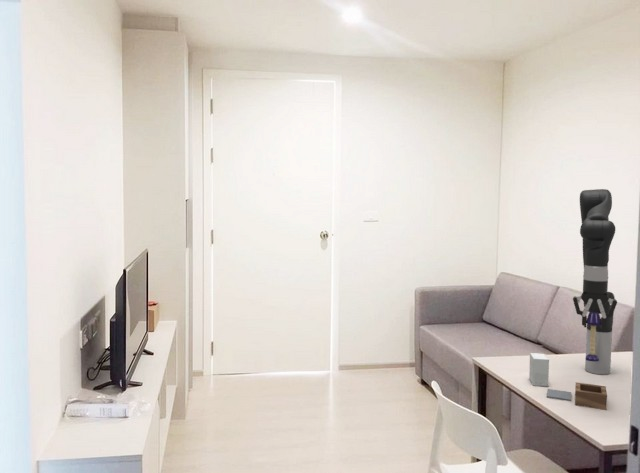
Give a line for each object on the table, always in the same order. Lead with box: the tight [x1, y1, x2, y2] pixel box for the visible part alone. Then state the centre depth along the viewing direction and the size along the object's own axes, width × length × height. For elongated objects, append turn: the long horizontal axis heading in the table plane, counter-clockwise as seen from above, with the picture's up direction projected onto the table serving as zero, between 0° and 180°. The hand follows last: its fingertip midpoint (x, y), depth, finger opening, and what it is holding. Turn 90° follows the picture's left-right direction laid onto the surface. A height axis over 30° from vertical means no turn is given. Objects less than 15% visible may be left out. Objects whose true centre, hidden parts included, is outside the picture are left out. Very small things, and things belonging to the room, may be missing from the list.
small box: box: [528, 352, 550, 387], centre depth 208 cm, size 8×6×10 cm
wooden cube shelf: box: [574, 381, 608, 411], centre depth 189 cm, size 10×10×5 cm
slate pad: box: [546, 388, 572, 402], centre depth 195 cm, size 8×8×1 cm
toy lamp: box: [585, 312, 601, 362], centre depth 187 cm, size 5×5×17 cm
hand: (593, 327), depth 187 cm, fingers closed on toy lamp, 4 cm apart
